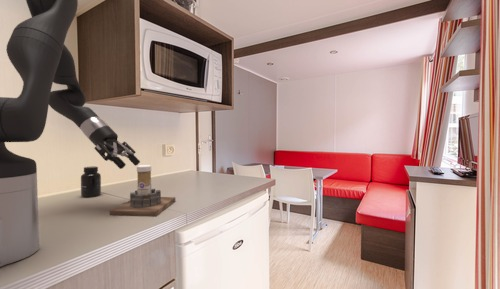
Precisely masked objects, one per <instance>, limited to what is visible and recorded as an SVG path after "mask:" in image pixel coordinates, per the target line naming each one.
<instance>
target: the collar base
mask: <svg viewBox="0 0 500 289" xmlns="http://www.w3.org/2000/svg"><path fill="white" fill-rule="evenodd" d="M161 194H162V191H161V189H156V188H151V194H148V199H144V195H138V189H137V190H134V192H130V193H129V197H130V198H129V200H128V201H126V202H123V203H122V204H120V205H118V206H115V207H113V208H112V209H110V210H109V216H130V217H131V216H132V217H134V216H135V217H157V216H159V215H160V214H161V213H162V212H163V211H165V210H166V209H167V208H169V207H170V206H172V204H174V203H175V202H176V197H175V196H161Z"/></svg>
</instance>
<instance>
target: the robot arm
mask: <svg viewBox="0 0 500 289" xmlns="http://www.w3.org/2000/svg"><path fill="white" fill-rule="evenodd" d="M25 2H26V4H27V7H28V11H29V14H30V16H31V17H29V18H28V19H25V20H23V21H21V22H20V23H19V24H17V25H16V26H15V27H14V29H13V30H12V33H11V35H10V37H9V40H8V42H7V44H6V55H7V57H8V59H9V61H10V63H11V65H12V66H13V67H14V69H15V70H16V72H17V73H18V75H19V76H20V78H21V80H22V82H23V85H22V90H21V93H20V94H19V95H18V96H17V97H3V96H0V268H1V267H3V266H6V265H9V264H12V263H15V262H18V261H21V260H24V259H26V258H28V257H30V256H32V255H33V254H35V253H36V252H38V251H39V250H40V229H39V228H40V227H39V224H40V223H39V200H38V197H39V196H38V194H39V193H38V172H37V171H38V170H37V169H38V167H37V162H36V161H35V160H34V159H32V158H30V157H25V156H22V155H19V154H16V153H14V152H12V151H11V150H9V149H8V148H7V147H6V144H5V143H29V142H34V141H37V140H38V139H39V138H41V137H42V134H43V133H44V131H45V127H46V125H47V124H46V123H47V119H48V111H49V107H50V108H51V109H52V110H53V111H55V112H57V113H58V114H60V115H62V116H63V117H65V118H66V119H68V120H70V121H71V122H73V123H74V124H75V125H76V126H77V128H79V130H81V131H82V133H83V135H84V136H85V137H86V138H87V139H89V141H90V142H91V143H92V144H93V145H94V148H93V149H94V150H95V151H96V152H97V153H98V154H99V155H100V156H101V158H102V159H103V160H104V161H110V162H112V163H114V164H115V166H116V167H118V169H120V170H121V169H124V168H125V167H126V165H127V164H126V163H125V161H124V160H122V158H120V157H119V156H121V157H125V158H127V159H128V160H129V161H130V162H131V163H132V164H133V165H134V166H136V167H137V166H139V165H140V163H141V161H140V159H138V158H137V156H136V155H135V154H136V150H135V149H134V148H132V147H131V146H130V145H129V144H128V143H127V141H123V142H122V143H121V142H120V141H119V140H118V136H119V135H118V134H117V132H115V131H114V129H113V128H111V127H110V126H109V125H108V124H107V123H106V122H105V120H103V119H102V118H101V117H100V116H99V115H98V114H96V112H95V111H94V110H93V109H91V108H90V107H88V106H85V104H86V102H87V101H86V96H85V93H84V91H83V88H81V85H80V83H79V81H78V78H77V73H76V65H75V60H74V57H73V54H72V53H71V51H70V50H69V48H68V47H67V45H65V41H66V37H67V34H68V32H69V29H70V28H71V25H72V23H73V21H74V18H75V16H76V14H77V11H78V6H79V2H78V0H25ZM53 83H54V84H56V85H61V86H62V85H63V86H66V87H67V88H66V89H58V90H56V89H55V90H52V87H53Z"/></svg>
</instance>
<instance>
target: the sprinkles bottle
mask: <svg viewBox="0 0 500 289" xmlns="http://www.w3.org/2000/svg"><path fill="white" fill-rule="evenodd" d="M136 172H137V187H136V188H137V190H138V195H144V199H148V194H151V189H152V165H151V164H141V165H140V164H138V165H136Z"/></svg>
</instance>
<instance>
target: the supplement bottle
mask: <svg viewBox="0 0 500 289" xmlns="http://www.w3.org/2000/svg"><path fill="white" fill-rule="evenodd" d="M98 171H99V167H98V166H94V165H93V166H85V167H83V173H82V175H80V195H81V198H95V197H98V196H100V195H101V194H102V177H101V176H102V175H101V173H99V172H98Z"/></svg>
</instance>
